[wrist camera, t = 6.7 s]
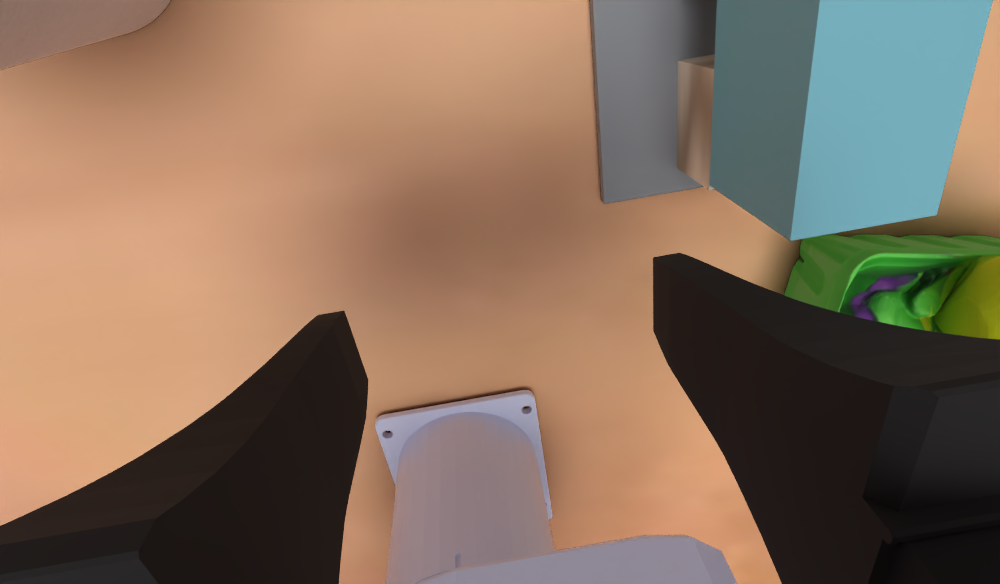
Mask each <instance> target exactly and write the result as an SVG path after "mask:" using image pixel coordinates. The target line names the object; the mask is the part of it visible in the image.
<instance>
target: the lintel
mask: <svg viewBox="0 0 1000 584" xmlns="http://www.w3.org/2000/svg"><path fill="white" fill-rule="evenodd" d="M992 2H993V0H717V12H716V37H715V61H714V85H713V110H712V134H711V158H710V183H709V185H710V186H711V187H713V188H714V189H715V190H717V191H718V192H720V193H721V194H723V195H724V196H726V197H727V198H729V199H730V200H731V201H733V202H734V203H736V204H737V205H739V206H740V207H742V208H743V209H745V210H746V211H747V212H749V213H750V214H752V215H753V216H755V217H756V218H758V219H759V220H761V221H762V222H763V223H765V224H766V225H768V226H769V227H771V228H772V229H774V230H775V231H776V232H778V233H779V234H781V235H782V236H784V237H785V238H787V239H788V240H790V241H793V240H799V239H804V238H810V237H816V236H821V235H827V234H833V233H838V232H844V231H850V230H855V229H861V228H867V227H872V226H878V225H884V224H889V223H895V222H901V221H906V220H912V219H918V218H924V217H929V216H935V215H937V212H938V208H939V205H940V201H941V197H942V193H943V189H944V186H945V182H946V178H947V174H948V170H949V166H950V163H951V159H952V155H953V151H954V147H955V143H956V140H957V136H958V132H959V128H960V124H961V121H962V117H963V113H964V109H965V105H966V101H967V98H968V94H969V90H970V86H971V82H972V78H973V75H974V71H975V67H976V63H977V59H978V55H979V52H980V48H981V44H982V40H983V36H984V33H985V29H986V25H987V21H988V17H989V13H990V10H991V6H992Z"/></svg>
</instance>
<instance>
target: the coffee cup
mask: <svg viewBox="0 0 1000 584" xmlns="http://www.w3.org/2000/svg"><path fill="white" fill-rule="evenodd" d="M170 1H171V0H0V70H3V69H6V68H10V67H13V66H16V65H20V64H23V63H27V62H30V61H34V60H37V59H41V58H44V57H48V56H51V55H55V54H58V53H62V52H65V51H69V50H72V49H75V48H79V47H82V46H86V45H89V44H93V43H96V42H100V41H103V40H107V39H110V38H114V37H117V36H121V35H124V34H128V33H131V32H134V31H136V30H138V29H141V28H142V27H144V26H146V25H148V24H149V23H151V22H152V21H153V20H155V19H156V18H157V17H158V16H159V15H160V14H161V13H162V12H163V11H164V10H165V8H166V7H167V6H168V4H169V3H170Z"/></svg>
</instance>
